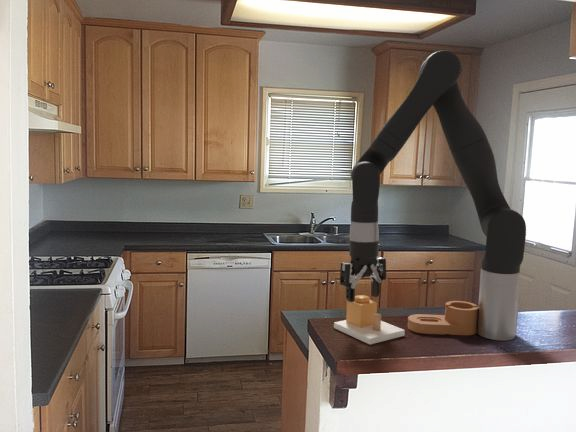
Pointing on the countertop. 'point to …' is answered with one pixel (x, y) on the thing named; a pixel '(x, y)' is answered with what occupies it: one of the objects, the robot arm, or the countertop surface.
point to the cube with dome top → (361, 311)
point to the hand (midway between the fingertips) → (363, 298)
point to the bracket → (447, 320)
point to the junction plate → (371, 330)
